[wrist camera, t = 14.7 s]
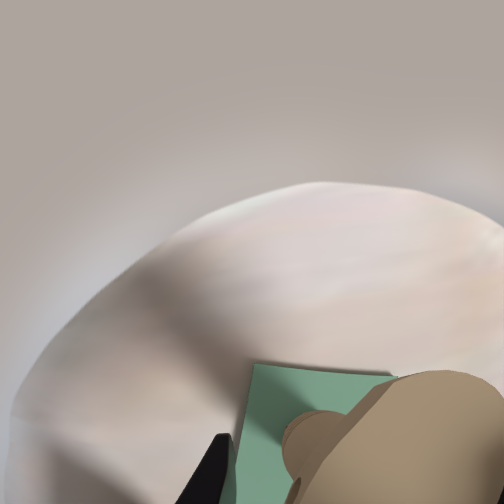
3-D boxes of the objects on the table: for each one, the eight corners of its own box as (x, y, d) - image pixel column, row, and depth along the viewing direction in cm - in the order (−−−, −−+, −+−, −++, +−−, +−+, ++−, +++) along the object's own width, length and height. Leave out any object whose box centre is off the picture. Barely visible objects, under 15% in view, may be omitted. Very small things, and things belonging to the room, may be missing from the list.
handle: (254, 465, 16) (230, 609, 2) (291, 379, 18) (363, 343, 5) (323, 485, 15) (423, 614, 2) (358, 400, 18) (532, 388, 4)
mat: (358, 546, 13) (360, 549, 12) (220, 539, 14) (219, 542, 13) (394, 376, 19) (398, 376, 18) (254, 363, 20) (254, 362, 19)
